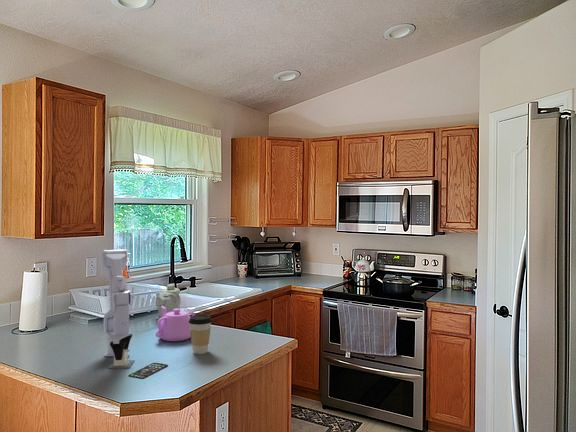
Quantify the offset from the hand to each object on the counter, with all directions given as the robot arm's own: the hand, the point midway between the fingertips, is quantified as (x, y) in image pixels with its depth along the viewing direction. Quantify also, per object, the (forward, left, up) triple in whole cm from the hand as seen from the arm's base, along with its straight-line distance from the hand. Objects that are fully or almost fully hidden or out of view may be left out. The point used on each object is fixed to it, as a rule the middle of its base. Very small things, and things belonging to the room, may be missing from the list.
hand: (121, 356), depth 174 cm
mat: (0, 0, -3) cm, 3 cm away
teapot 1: (-74, +4, -4) cm, 74 cm away
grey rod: (-7, 0, -3) cm, 8 cm away
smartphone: (+7, +12, -4) cm, 14 cm away
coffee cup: (-14, +29, -4) cm, 32 cm away
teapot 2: (-37, +14, -4) cm, 40 cm away
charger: (0, 0, -3) cm, 3 cm away
